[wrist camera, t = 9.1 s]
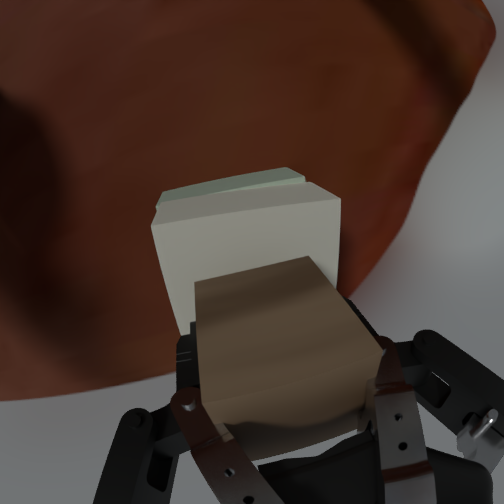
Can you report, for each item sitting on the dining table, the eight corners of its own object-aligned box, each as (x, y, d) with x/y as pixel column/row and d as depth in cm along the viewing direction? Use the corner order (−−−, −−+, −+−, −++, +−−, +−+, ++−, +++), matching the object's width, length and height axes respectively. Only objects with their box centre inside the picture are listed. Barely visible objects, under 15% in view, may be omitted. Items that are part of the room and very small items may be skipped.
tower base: (163, 190, 19) (155, 206, 15) (285, 166, 20) (304, 176, 16) (192, 294, 23) (193, 325, 20) (295, 271, 24) (312, 297, 20)
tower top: (160, 202, 15) (150, 226, 12) (310, 181, 17) (340, 198, 13) (189, 323, 19) (191, 364, 16) (309, 301, 21) (330, 336, 17)
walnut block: (194, 282, 12) (201, 403, 6) (308, 255, 12) (382, 350, 7) (220, 360, 14) (238, 463, 8) (311, 337, 14) (359, 427, 9)
